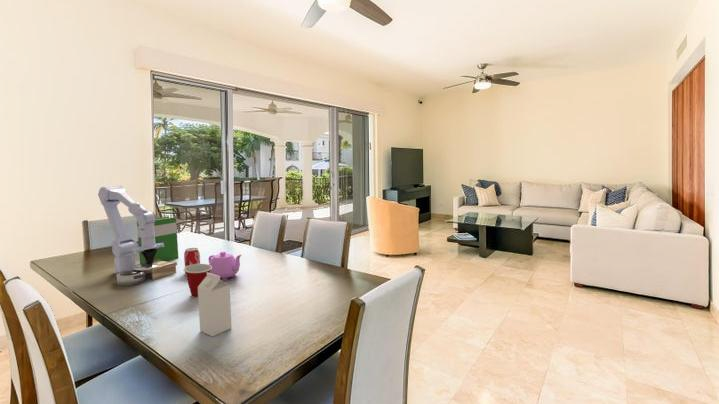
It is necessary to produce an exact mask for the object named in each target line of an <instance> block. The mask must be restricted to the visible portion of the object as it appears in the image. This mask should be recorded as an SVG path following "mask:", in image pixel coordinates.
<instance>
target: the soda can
mask: <svg viewBox="0 0 719 404" xmlns="http://www.w3.org/2000/svg"><path fill="white" fill-rule="evenodd" d="M183 255H184V256H183V259H184V267H186V266H189V265H193V264H201V253H200V251H199V249H198V247H189V248H186V249H185V251H184V253H183Z"/></svg>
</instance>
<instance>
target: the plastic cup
mask: <svg viewBox="0 0 719 404" xmlns="http://www.w3.org/2000/svg"><path fill="white" fill-rule="evenodd" d="M211 269H212V266H211V265H209V263H208V264H207V263H200V264H193V265H189V266H186V267H185V266H184V267H183V272H184V274H185V277H186V281H187V284H188V288H189V291H190V295H191V296H192V297H193V298H198V286H199V285H200V284H201V282H202V281H203V280H204V279H205V277H206V276H207V272H208V273H210V270H211Z"/></svg>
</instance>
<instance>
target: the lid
mask: <svg viewBox="0 0 719 404" xmlns="http://www.w3.org/2000/svg"><path fill="white" fill-rule="evenodd" d="M158 267H159V264H158V263H153V264H151V263H145V262H143V263H141V264H138V266H137V265H135V267H134V270H136V271H145V270H151V269H154V268H158Z"/></svg>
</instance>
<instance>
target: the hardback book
mask: <svg viewBox="0 0 719 404" xmlns="http://www.w3.org/2000/svg"><path fill="white" fill-rule="evenodd" d="M136 228H137V229H136V230H137V241H138V243H137V244H138V247H141V246H142V243H141V229H140V228H139V224H138V223H137V222H136ZM154 231H155V244H157V243H164V247H160V248H155V249H157V252H156V254H155V256H154V260H153V261H156V260H159V259H160V260H161V261H165V262H170V261H173V260H177V259H179V244H178V229H177V217H176V216H174V217H170V216H161V217H157V219H156V222H155V223H154ZM138 256H139V265H141V263H143V262H145V263H147V262H146V259H145V257H144V256H143V254H142V253H141V252H138Z"/></svg>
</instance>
